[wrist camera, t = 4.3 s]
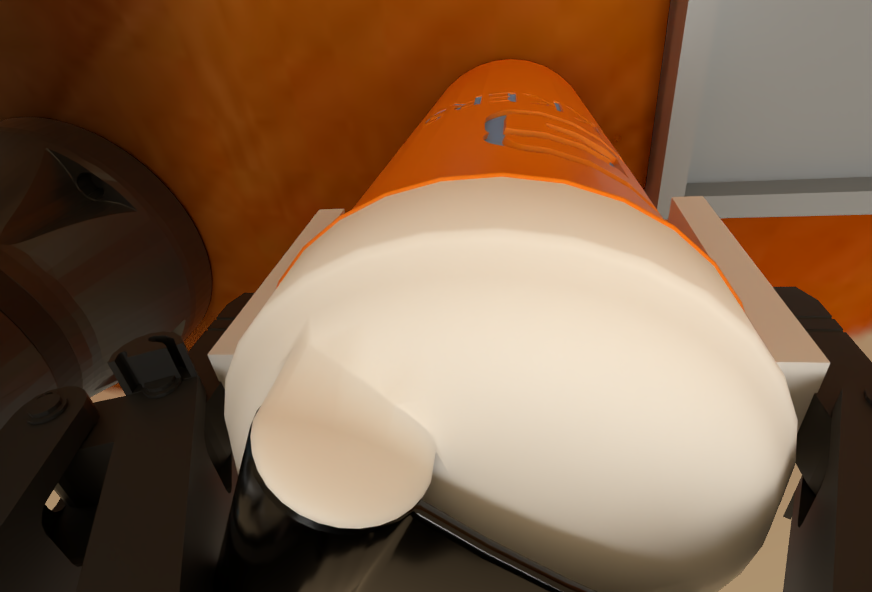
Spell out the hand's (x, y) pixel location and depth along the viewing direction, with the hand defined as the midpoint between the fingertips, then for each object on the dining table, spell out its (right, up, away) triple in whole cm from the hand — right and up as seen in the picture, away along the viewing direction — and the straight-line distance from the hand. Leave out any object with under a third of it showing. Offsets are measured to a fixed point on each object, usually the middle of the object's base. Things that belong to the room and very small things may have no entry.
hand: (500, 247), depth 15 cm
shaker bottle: (+1, +5, +8) cm, 10 cm away
